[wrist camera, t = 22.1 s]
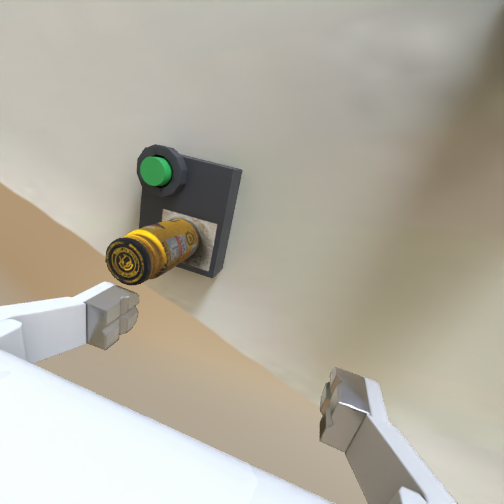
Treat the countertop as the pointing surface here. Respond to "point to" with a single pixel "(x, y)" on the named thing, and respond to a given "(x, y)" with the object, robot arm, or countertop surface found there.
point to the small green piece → (155, 171)
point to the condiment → (161, 248)
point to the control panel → (192, 197)
